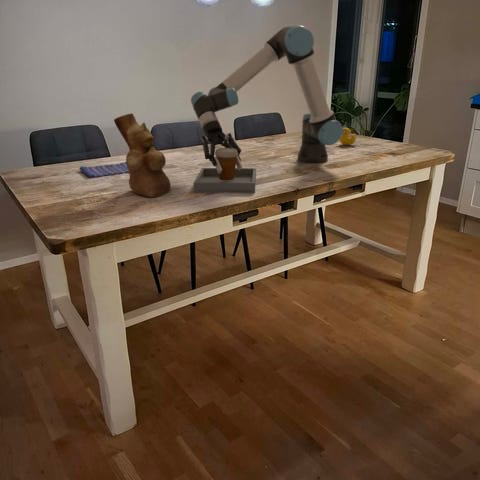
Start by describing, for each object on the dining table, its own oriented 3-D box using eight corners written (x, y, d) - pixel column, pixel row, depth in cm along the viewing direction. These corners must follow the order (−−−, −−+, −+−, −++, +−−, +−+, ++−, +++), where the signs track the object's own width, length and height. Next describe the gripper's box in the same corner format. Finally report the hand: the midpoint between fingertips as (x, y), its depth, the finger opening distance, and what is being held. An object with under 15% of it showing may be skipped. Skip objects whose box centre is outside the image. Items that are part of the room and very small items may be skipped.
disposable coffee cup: (211, 180, 188) (210, 151, 183) (220, 174, 196) (220, 146, 192) (232, 182, 185) (232, 153, 180) (241, 177, 193) (241, 148, 188)
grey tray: (256, 177, 202) (256, 168, 200) (254, 192, 180) (254, 183, 178) (202, 176, 203) (201, 167, 202) (194, 192, 181) (193, 182, 179)
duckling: (334, 144, 268) (335, 127, 264) (337, 143, 272) (338, 126, 268) (353, 146, 263) (355, 128, 259) (356, 144, 267) (357, 127, 263)
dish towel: (78, 171, 215) (78, 165, 214) (127, 165, 226) (127, 159, 225) (88, 179, 202) (87, 173, 200) (139, 172, 213) (139, 166, 212)
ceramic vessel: (152, 200, 171) (145, 118, 160) (111, 192, 182) (101, 114, 171) (178, 190, 184) (174, 113, 172) (138, 182, 195) (131, 110, 183)
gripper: (229, 128, 201) (249, 171, 195) (185, 133, 191) (204, 179, 184) (235, 117, 195) (256, 161, 189) (190, 122, 184) (210, 168, 178)
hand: (230, 170), depth 186 cm, fingers closed on disposable coffee cup, 9 cm apart
